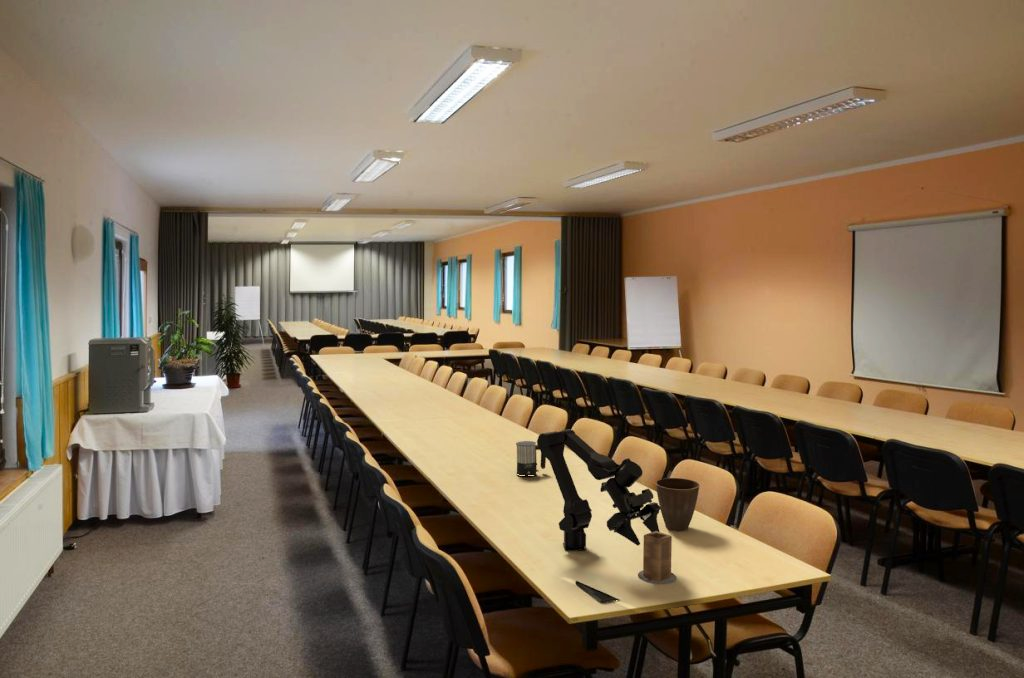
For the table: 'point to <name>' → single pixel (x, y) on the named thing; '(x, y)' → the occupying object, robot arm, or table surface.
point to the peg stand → (666, 581)
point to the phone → (596, 593)
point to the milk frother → (528, 458)
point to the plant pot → (677, 501)
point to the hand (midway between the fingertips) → (649, 541)
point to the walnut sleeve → (657, 556)
